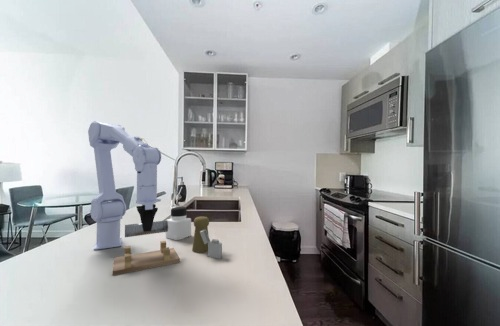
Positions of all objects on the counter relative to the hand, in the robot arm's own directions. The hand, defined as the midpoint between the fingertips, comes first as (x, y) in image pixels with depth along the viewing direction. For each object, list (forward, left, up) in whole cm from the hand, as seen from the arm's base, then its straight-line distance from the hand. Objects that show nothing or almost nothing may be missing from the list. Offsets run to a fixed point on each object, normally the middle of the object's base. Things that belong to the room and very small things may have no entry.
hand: (146, 229), depth 70 cm
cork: (+2, +17, -9) cm, 19 cm away
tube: (0, 0, -2) cm, 2 cm away
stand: (+4, 0, -9) cm, 9 cm away
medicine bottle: (-16, +13, -9) cm, 23 cm away
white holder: (+9, +18, -9) cm, 22 cm away
